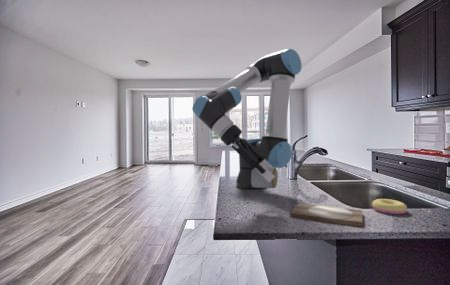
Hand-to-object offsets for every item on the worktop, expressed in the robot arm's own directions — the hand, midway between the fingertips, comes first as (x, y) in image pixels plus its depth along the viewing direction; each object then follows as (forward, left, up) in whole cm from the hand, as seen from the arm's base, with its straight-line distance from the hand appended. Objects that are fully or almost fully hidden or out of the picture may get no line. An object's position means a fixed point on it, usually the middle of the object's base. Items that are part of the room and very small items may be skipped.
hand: (273, 176), depth 88 cm
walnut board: (-1, +17, -11) cm, 20 cm away
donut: (-15, +35, -12) cm, 40 cm away
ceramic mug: (-1, -3, -4) cm, 5 cm away
